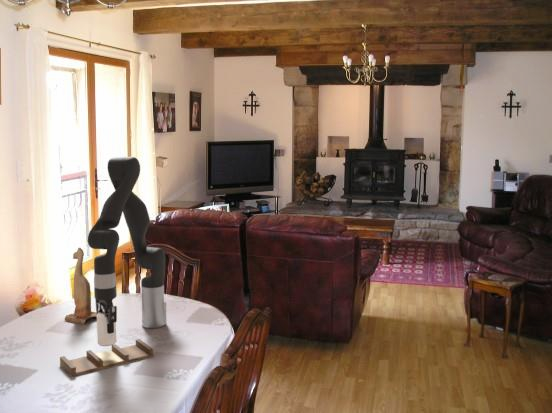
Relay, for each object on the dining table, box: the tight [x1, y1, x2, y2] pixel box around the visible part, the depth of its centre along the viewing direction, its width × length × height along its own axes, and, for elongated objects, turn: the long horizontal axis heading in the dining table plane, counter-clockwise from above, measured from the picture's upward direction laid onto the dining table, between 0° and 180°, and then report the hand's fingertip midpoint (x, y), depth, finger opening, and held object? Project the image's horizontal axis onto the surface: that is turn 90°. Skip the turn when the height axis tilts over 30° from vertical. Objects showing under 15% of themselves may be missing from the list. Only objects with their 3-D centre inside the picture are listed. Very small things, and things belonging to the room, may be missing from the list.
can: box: [96, 311, 117, 347], centre depth 219 cm, size 6×6×12 cm
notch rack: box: [59, 338, 154, 377], centre depth 220 cm, size 30×12×3 cm, turn 127°
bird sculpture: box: [64, 247, 97, 326], centre depth 262 cm, size 11×12×32 cm
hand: (106, 330), depth 219 cm, fingers closed on can, 6 cm apart
